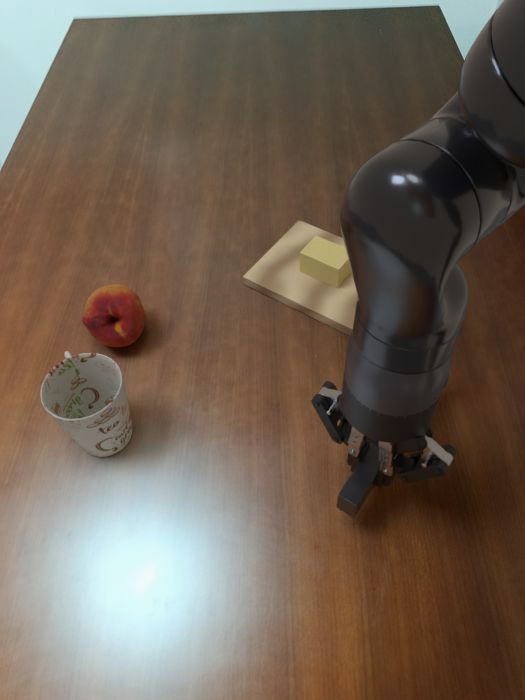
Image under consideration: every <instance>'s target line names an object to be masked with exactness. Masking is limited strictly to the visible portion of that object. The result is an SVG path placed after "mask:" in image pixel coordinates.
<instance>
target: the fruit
mask: <svg viewBox="0 0 525 700" xmlns="http://www.w3.org/2000/svg"><path fill="white" fill-rule="evenodd" d="M81 322H82V324H83V325H84V326H85V328H86V329H87V331H88V333H89V334H90V335H91V336H92V337H93V338H94V339H95V340H96V341H98V342H99V343H101V344H102V345H103V346H106V347H110V348H122V347H123V348H124V347H127V346H130V345H132V344H133V343H135V342H136V341H137V340H138V339H139V338H140V336H141V334H142V332H143V331H144V328H145V324H146V311H145V308H144V306H143V304H142V300H141V298H140V296H139V295H138V294H137V293H136V292H135V291H134V290H132V289H131V288H130V287H128V286H127V285H124V284H119V283H112V284H107V285H104V286H101V287H99V288H97V289H95V290H94V291H93V292H92V293H91V294H90V296H89V297H88V299H87V300H86V303H85V306H84V311H83V314H82V316H81Z"/></svg>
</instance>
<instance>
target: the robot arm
mask: <svg viewBox="0 0 525 700" xmlns="http://www.w3.org/2000/svg"><path fill="white" fill-rule="evenodd" d="M524 206H525V0H502V2H500V4H499V6H498V7H497V9H496V10H495V11H494V12H493V14H492V15H491V16H490V17H489V19H488V20H487V21H486V23H485V24H484V26H483V27H482V29H481V30H480V31H479V33H478V35H477V36H476V38H475V40H474V41H473V43H472V44H471V46H470V48H469V49H468V52H467V54H466V56H465V57H464V59H463V62H462V65H461V68H460V72H459V77H458V84H457V91H456V92H455V93H454V94H453V95H452V96H451V97H450V98H449V99H448V100H447V102H445V103H444V104H443V106H441V108H439V109H438V110H437V111H436V112H435V113H433V115H431V116H430V117H429V118H428V119H427V120H425V121H423V122H422V123H421V124H419V125H418V126H417V127H415V128H413V129H411V130H410V131H409V132H407V133H406V134H404V135H403V136H401V137H399V138H397V139H396V140H395V141H393V142H392V143H390V144H389V145H387V146H386V147H384V148H382V149H381V150H380V151H378V152H376V153H375V154H373V155H372V156H371V157H369V158H367V160H365V162H364V163H362V164H361V165H360V166H359V168H358V169H357V170H356V172H355V173H354V174H353V176H352V178H351V180H350V182H349V184H348V186H347V188H346V192H345V193H344V196H343V199H342V203H341V208H340V215H339V221H340V223H339V224H340V225H339V226H340V231H341V238H343V240H344V244H345V248H346V252H347V255H348V259H349V263H350V267H351V272H352V276H353V280H354V283H355V287H356V291H357V294H358V295H357V300H356V308H355V316H354V324H353V330H352V333H351V335H350V336H349V338H348V341H347V346H346V353H345V361H344V363H345V364H344V370H343V379H342V387H341V390H339V389H338V388H337V386H336V384H335V383H333V382H332V381H329V380H325V382H324V383H323V384H322V386H321V387H320V389H318V391H317V392H316V393H315V395H314V396H313V397H312V399H311V400H310V401H311V405H312V406H313V408H314V410H315V412H316V414H317V415H318V417H319V419H320V421H321V423H322V424H323V426H324V428H325V430H326V431H327V433H328V435H329V437H330V439H331V440H332V441H333V442H334V443H336V444H338V445H342V443H343V444H344V445H345V446H346V451H347V459H346V462H347V466H350V472H351V473H352V472H353V471H354V469H355V468H356V466H357V465H358V463H359V462H360V461H361V459H362V458H363V456H364V455H365V453H366V452H367V450H368V449H369V447H370V445H371V443H372V444H374V445H375V446H377V447H378V448H379V462H381V465H380V466H379V468H378V470H377V476H376V480H375V484H374V485H375V486H374V487H377V488H378V489H381V488H382V487H383V486H384V487H387V488H388V487H390V486H391V484H392V482H393V480H394V479H395V477H397V475H398V478H399V479H400V480H401V481H402V482H404V483H406V484H411V483H417V482H421V481H427V480H429V479H435V478H440V477H444V476H445V475H446V473H447V471H448V470H449V469H450V467H451V465H452V463H453V461H454V459H455V457H456V455H457V453H458V450H457V448H455V447H454V446H453V445H451V444H447V443H446V444H442V445H440V444H439V443H438V442H437V441H436V440H434V439H433V437H434V429H433V427H432V421H433V418H434V415H435V412H436V410H437V407H438V404H439V402H440V399H441V396H442V393H443V391H444V389H445V388H446V387H447V383H448V380H449V376H450V370H451V366H452V361H453V352H454V348H455V346H456V342H457V339H458V338H459V334H460V331H461V329H462V327H463V323H464V320H465V317H466V314H467V309H468V303H469V299H470V294H469V293H470V292H469V291H470V290H469V284H468V283H469V282H468V279H467V277H466V275H465V273H464V271H463V269H462V268H461V266H460V265H459V264H458V263H459V261H460V260H461V259H462V258H463V257H464V256H466V255H467V254H468V253H469V252H471V251H472V249H474V248H475V247H476V246H477V245H479V244H480V243H481V242H482V241H483V240H485V238H487V237H488V236H489V235H490V234H491V233H493V232H494V231H495V230H497V229H498V228H499V227H500V226H501V225H502V224H504V223H505V222H506V221H507V220H509V219H510V218H511V217H512V216H513V215H515V214H516V213H517V212H518V211H519V210H520V209H521V208H523V207H524ZM339 421H340V422H339ZM338 422H339V423H338ZM407 453H411V454H410V456H407V455H405V454H407Z"/></svg>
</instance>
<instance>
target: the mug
mask: <svg viewBox="0 0 525 700" xmlns="http://www.w3.org/2000/svg"><path fill="white" fill-rule="evenodd" d="M63 355H64V358H65V359H63V360H61V361H60V362H58V363H57V364H55V366H54V367H52V368H51V369H50V370H49V371H48V373H47V374H46V376H45V377H44V378H43V380H42V383H41V386H40V391H39V396H40V397H39V398H40V401H41V404H42V407H43V409H44V410H45V411H46V413H47V414H48V415H49V416H50V417H51V418H52V419H53V421H55V422H56V424H58V425H59V427H60V428H62V429H63V430H64V431H65V432H66V433H67V434H68V435H69V436H70V438H72V439H73V440H74V442H76V444H78V446H79V447H80V448H82V450H84V452H86V453H88V454H89V455H90V456H93V457H96V458H97V457H99V458H105V457H110V456H113V455H116V454H118V453H119V452H120V451H122V450H123V449H124V448H125V447H126V446H127V445H128V444H129V442H130V441H131V438H132V436H133V428H134V427H133V421H132V415H131V410H130V405H129V400H128V395H127V390H126V384H125V379H124V375H123V372H122V370H121V367H120V366H119V364H117V362H116V361H115V360H114V359H112V358H111V357H109V356H107V355H105V354H101V353H98V352H83V353H78V354H74V355H73V354H72V353H71V352H70V351H69V350H66V351H64V352H63Z"/></svg>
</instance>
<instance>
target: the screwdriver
mask: <svg viewBox="0 0 525 700" xmlns="http://www.w3.org/2000/svg"><path fill="white" fill-rule="evenodd" d="M380 465H381V462H379V448H378V447H377V446H375V445H374V444H372V443H371V444H370V447H369V449H368V450H367V452H366V453H365V455H364V456H363V458H362V459H361V461H360V462H359V463H358V465H357V466H356V468H355V469H354V471H353V472H351V474H350V476H349V477H348V478H347V480H346V482H345V483H344V485H343V486H342V488H341V490H340V491H339V492H338V494H337V500H336V508H337V509H338V510H339V511H341V512H343V513H344V514H346V515H348V516H349V517H351V518H353V519H356V517H357V515H358V514H359V512H360V510H361V508H362V507H363V506H364V504H365V502H366V500H367V499H368V497H369V495H370V494H371V492H372V490H373V489H374V487H376V486H375V485H374V484H375V480H376V476H377V470H378V468H379V466H380Z"/></svg>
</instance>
